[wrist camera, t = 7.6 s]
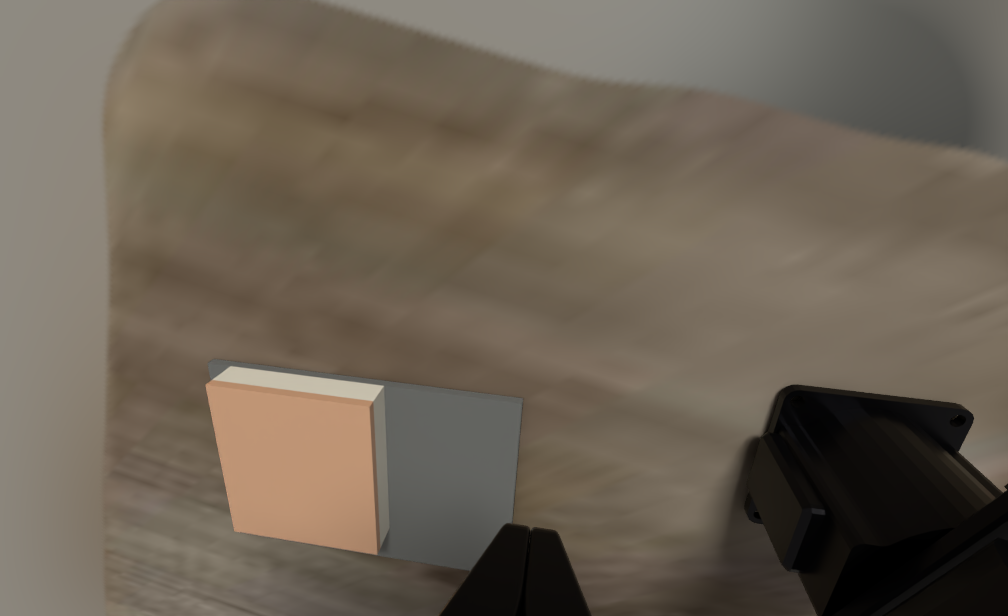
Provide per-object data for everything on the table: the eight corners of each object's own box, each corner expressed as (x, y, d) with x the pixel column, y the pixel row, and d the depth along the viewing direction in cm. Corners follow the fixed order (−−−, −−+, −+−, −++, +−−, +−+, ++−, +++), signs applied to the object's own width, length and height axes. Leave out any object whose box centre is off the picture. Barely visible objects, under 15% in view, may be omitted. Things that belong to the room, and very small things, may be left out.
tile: (369, 407, 20) (205, 384, 20) (377, 554, 23) (234, 531, 23) (384, 385, 21) (230, 366, 22) (389, 527, 24) (254, 506, 25)
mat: (523, 398, 21) (522, 403, 21) (508, 569, 25) (507, 577, 24) (213, 358, 22) (207, 363, 22) (245, 526, 26) (240, 532, 26)
